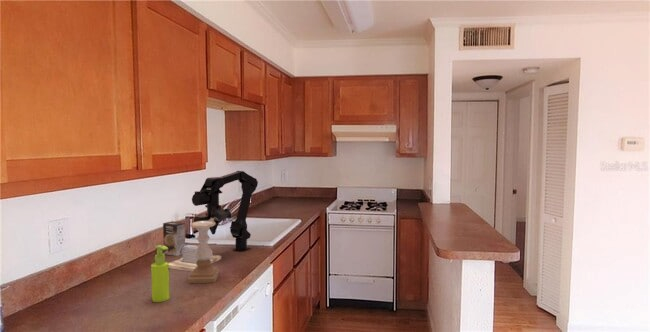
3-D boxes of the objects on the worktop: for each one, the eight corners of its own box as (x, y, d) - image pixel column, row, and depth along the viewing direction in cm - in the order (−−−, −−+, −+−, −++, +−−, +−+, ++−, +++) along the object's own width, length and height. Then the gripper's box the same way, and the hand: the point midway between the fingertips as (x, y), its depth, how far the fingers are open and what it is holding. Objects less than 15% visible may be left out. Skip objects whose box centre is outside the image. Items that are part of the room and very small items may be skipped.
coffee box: (163, 254, 196) (162, 223, 195) (172, 250, 202) (171, 220, 201) (176, 256, 192) (176, 224, 191) (186, 252, 198) (185, 222, 197)
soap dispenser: (160, 304, 136) (158, 249, 135) (148, 299, 140) (147, 246, 139) (174, 298, 141) (173, 245, 140) (163, 294, 145) (161, 242, 144)
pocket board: (194, 255, 194) (194, 252, 194) (221, 258, 188) (221, 255, 188) (166, 267, 175) (165, 264, 175) (194, 271, 170) (194, 268, 170)
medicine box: (202, 264, 181) (201, 246, 180) (195, 267, 176) (195, 248, 176) (188, 262, 183) (188, 244, 183) (182, 264, 179) (181, 246, 179)
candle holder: (193, 274, 167) (192, 220, 165) (219, 273, 168) (218, 220, 166) (187, 283, 156) (186, 226, 154) (214, 282, 157) (213, 225, 155)
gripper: (207, 207, 176) (208, 240, 177) (238, 202, 191) (238, 233, 192) (192, 205, 182) (193, 237, 183) (223, 200, 197) (224, 229, 198)
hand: (213, 234), depth 189 cm, fingers closed
